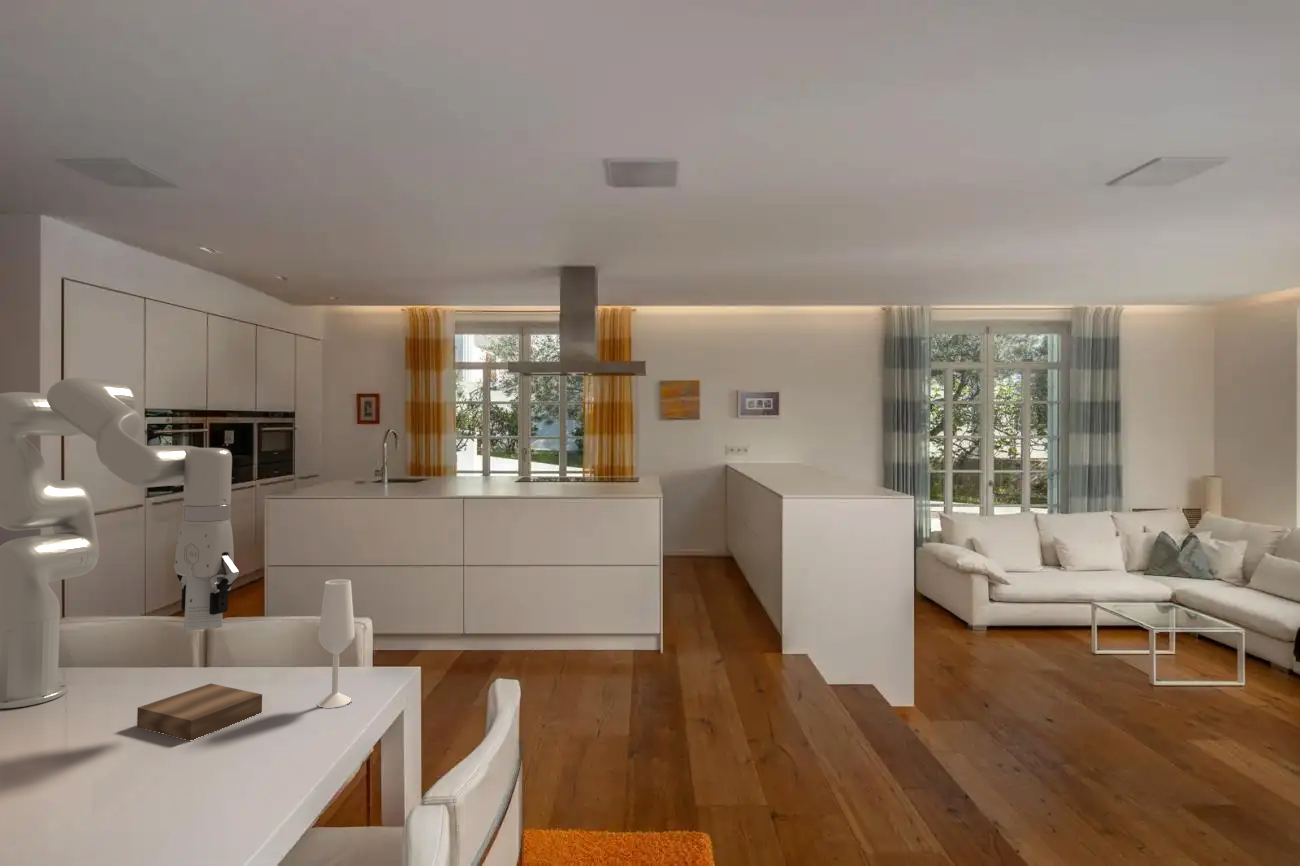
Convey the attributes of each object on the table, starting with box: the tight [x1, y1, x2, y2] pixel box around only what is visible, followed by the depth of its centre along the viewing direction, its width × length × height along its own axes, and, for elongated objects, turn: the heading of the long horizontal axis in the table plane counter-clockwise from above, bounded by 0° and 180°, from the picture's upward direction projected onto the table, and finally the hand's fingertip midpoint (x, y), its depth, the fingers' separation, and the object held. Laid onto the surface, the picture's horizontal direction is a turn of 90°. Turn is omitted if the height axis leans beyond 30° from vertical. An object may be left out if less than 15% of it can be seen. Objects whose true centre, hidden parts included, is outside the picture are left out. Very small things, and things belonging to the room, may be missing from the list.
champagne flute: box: [317, 578, 356, 707], centre depth 143 cm, size 7×7×24 cm
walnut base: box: [136, 683, 263, 741], centre depth 133 cm, size 14×14×4 cm
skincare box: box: [183, 564, 224, 632], centre depth 133 cm, size 6×4×12 cm
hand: (204, 610), depth 133 cm, fingers closed on skincare box, 6 cm apart
